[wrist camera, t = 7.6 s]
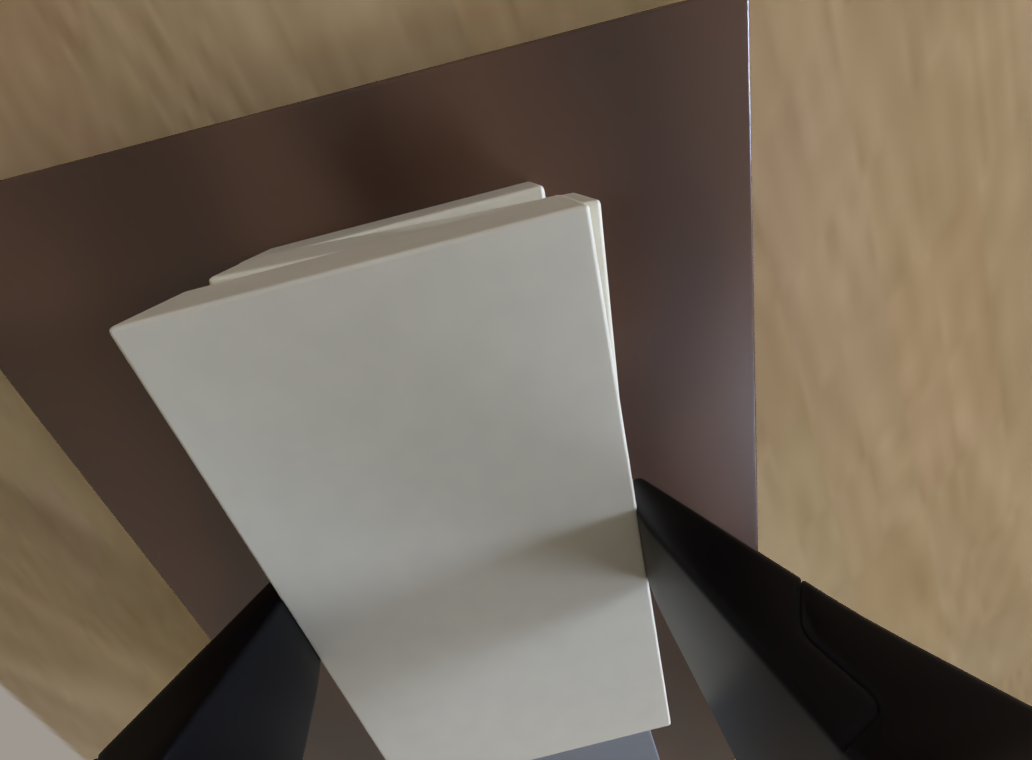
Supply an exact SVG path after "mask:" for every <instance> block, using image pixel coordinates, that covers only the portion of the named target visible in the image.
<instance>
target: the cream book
mask: <svg viewBox="0 0 1032 760" xmlns="http://www.w3.org/2000/svg"><path fill="white" fill-rule="evenodd" d="M109 332H110V335H111V336H112V338H113V339H114V341H115V342H116V344H117V346H118V347H119V349H120V350H121V352H122V353H123V355H124V356H125V358H126V360H127V361H128V363H129V364H130V366H131V367H132V369H133V370H134V372H135V373H136V375H137V377H138V378H139V380H140V381H141V383H142V384H143V386H144V387H145V389H146V390H147V392H148V394H149V395H150V397H151V398H152V400H153V401H154V403H155V404H156V406H157V407H158V409H159V411H160V412H161V414H162V415H163V417H164V418H165V420H166V421H167V423H168V424H169V426H170V428H171V429H172V431H173V432H174V434H175V435H176V437H177V438H178V440H179V442H180V443H181V445H182V446H183V448H184V449H185V451H186V452H187V454H188V455H189V457H190V459H191V460H192V462H193V463H194V465H195V466H196V468H197V469H198V471H199V472H200V474H201V476H202V477H203V479H204V480H205V482H206V483H207V485H208V486H209V488H210V489H211V491H212V493H213V494H214V496H215V497H216V499H217V500H218V502H219V503H220V505H221V507H222V508H223V510H224V511H225V513H226V514H227V516H228V517H229V519H230V520H231V522H232V524H233V525H234V527H235V528H236V530H237V531H238V533H239V534H240V536H241V537H242V539H243V541H244V542H245V544H246V545H247V547H248V548H249V550H250V551H251V553H252V554H253V556H254V558H255V559H256V561H257V562H258V564H259V565H260V567H261V568H262V570H263V571H264V573H265V575H266V576H267V578H268V579H269V581H270V582H271V584H272V585H273V587H274V589H275V590H276V592H277V593H278V595H279V596H280V598H281V599H282V601H283V602H284V603H285V605H286V606H287V608H288V609H289V611H290V612H291V614H292V616H293V617H294V619H295V620H296V622H297V623H298V625H299V626H300V628H301V629H302V631H303V633H304V634H305V636H306V637H307V639H308V640H309V642H310V643H311V645H312V647H313V648H314V650H315V651H316V653H317V654H318V656H319V657H320V659H321V661H322V663H323V664H324V666H325V667H326V669H327V671H328V672H329V674H330V675H331V677H332V678H333V680H334V681H335V683H336V684H337V686H338V688H339V689H340V691H341V692H342V694H343V695H344V697H345V698H346V700H347V701H348V703H349V705H350V706H351V708H352V709H353V711H354V712H355V714H356V715H357V717H358V718H359V720H360V722H361V723H362V725H363V726H364V728H365V729H366V731H367V732H368V734H369V735H370V737H371V739H372V740H373V742H374V743H375V745H376V746H377V748H378V749H379V751H380V753H381V754H382V756H383V757H384V759H385V760H533V759H537V758H541V757H545V756H549V755H553V754H557V753H561V752H565V751H569V750H573V749H577V748H581V747H585V746H589V745H593V744H597V743H601V742H605V741H609V740H613V739H617V738H621V737H625V736H629V735H633V734H637V733H641V732H644V731H648V730H652V729H656V728H660V727H664V726H668V725H670V724H671V721H670V715H669V708H668V702H667V696H666V689H665V683H664V677H663V670H662V664H661V658H660V651H659V645H658V639H657V632H656V626H655V620H654V613H653V607H652V601H651V594H650V588H649V582H648V579H647V576H646V570H645V564H644V558H643V551H642V545H641V539H640V532H639V526H638V520H637V513H636V511H637V506H636V499H635V493H634V487H633V480H632V474H631V468H630V461H629V455H628V449H627V443H626V436H625V430H624V424H623V417H622V411H621V405H620V398H619V392H618V386H617V379H616V373H615V367H614V360H613V354H612V348H611V341H610V335H609V329H608V322H607V316H606V310H605V303H604V297H603V291H602V284H601V278H600V272H599V265H598V259H597V253H596V246H595V240H594V234H593V227H592V221H591V215H590V208H589V207H588V205H587V204H584V203H581V202H578V201H576V200H573V199H570V198H568V197H565V196H562V195H555V196H551V197H547V198H543V199H540V200H536V201H532V202H528V203H524V204H520V205H516V206H513V207H509V208H505V209H501V210H497V211H493V212H490V213H486V214H482V215H478V216H474V217H470V218H466V219H463V220H459V221H455V222H451V223H447V224H443V225H440V226H436V227H432V228H428V229H424V230H420V231H417V232H413V233H409V234H405V235H401V236H397V237H393V238H390V239H386V240H382V241H378V242H374V243H370V244H367V245H363V246H359V247H355V248H351V249H347V250H343V251H340V252H336V253H332V254H328V255H324V256H320V257H317V258H313V259H309V260H305V261H301V262H297V263H293V264H290V265H286V266H282V267H278V268H274V269H270V270H267V271H263V272H259V273H255V274H251V275H247V276H243V277H240V278H236V279H232V280H228V281H224V282H220V283H217V284H213V285H209V286H205V287H201V288H197V289H193V290H190V291H186V292H183V293H181V294H179V295H177V296H175V297H173V298H171V299H169V300H167V301H165V302H162V303H160V304H158V305H156V306H154V307H152V308H150V309H148V310H146V311H144V312H142V313H139V314H137V315H135V316H133V317H131V318H129V319H127V320H125V321H123V322H121V323H118V324H116V325H114V326H113V327H111V328H110V330H109Z"/></svg>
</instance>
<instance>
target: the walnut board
mask: <svg viewBox="0 0 1032 760" xmlns="http://www.w3.org/2000/svg"><path fill="white" fill-rule="evenodd" d="M524 182H532V183H535V184H538V185H541V186H542V187H543V188H544V191H545V196H546V198H547V197H551V196H555V195H564V194H569V193H577V194H580V195H583V196H587V197H590V198H593V199H597V200H599V202H600V204H601V213H602V223H603V234H604V244H605V254H606V264H607V275H608V285H609V295H610V306H611V316H612V326H613V336H614V347H615V357H616V367H617V377H618V388H619V398H620V405H621V411H622V417H623V424H624V430H625V436H626V443H627V449H628V455H629V461H630V468H631V474H632V480H633V479H637V478H642V479H645V480H646V481H648V482H649V483H651V484H652V485H654V486H656V487H657V488H659V489H660V490H662V491H663V492H665V493H667V494H668V495H670V496H671V497H673V498H675V499H676V500H678V501H679V502H681V503H682V504H684V505H686V506H687V507H689V508H690V509H692V510H693V511H695V512H697V513H698V514H700V515H701V516H703V517H704V518H706V519H708V520H709V521H711V522H712V523H714V524H716V525H717V526H719V527H720V528H722V529H723V530H725V531H727V532H728V533H730V534H731V535H733V536H734V537H736V538H738V539H739V540H741V541H742V542H744V543H746V544H747V545H749V546H750V547H752V548H753V549H755V550H757V551H758V525H757V464H756V403H755V342H754V281H753V220H752V159H751V98H750V38H749V0H685V1H681V2H678V3H674V4H670V5H666V6H662V7H658V8H655V9H651V10H647V11H643V12H639V13H636V14H632V15H628V16H624V17H620V18H617V19H613V20H609V21H605V22H601V23H598V24H594V25H590V26H586V27H582V28H579V29H575V30H571V31H567V32H563V33H560V34H556V35H552V36H548V37H544V38H541V39H537V40H533V41H529V42H525V43H522V44H518V45H514V46H510V47H506V48H503V49H499V50H495V51H491V52H487V53H483V54H480V55H476V56H472V57H468V58H464V59H461V60H457V61H453V62H449V63H445V64H442V65H438V66H434V67H430V68H426V69H423V70H419V71H415V72H411V73H407V74H404V75H400V76H396V77H392V78H388V79H385V80H381V81H377V82H373V83H369V84H366V85H362V86H358V87H354V88H350V89H347V90H343V91H339V92H335V93H331V94H328V95H324V96H320V97H316V98H312V99H308V100H305V101H301V102H297V103H293V104H289V105H286V106H282V107H278V108H274V109H270V110H267V111H263V112H259V113H255V114H251V115H248V116H244V117H240V118H236V119H232V120H229V121H225V122H221V123H217V124H213V125H210V126H206V127H202V128H198V129H194V130H191V131H187V132H183V133H179V134H175V135H172V136H168V137H164V138H160V139H156V140H153V141H149V142H145V143H141V144H137V145H133V146H130V147H126V148H122V149H118V150H114V151H111V152H107V153H103V154H99V155H95V156H92V157H88V158H84V159H80V160H76V161H73V162H69V163H65V164H61V165H57V166H54V167H50V168H46V169H42V170H38V171H35V172H31V173H27V174H23V175H19V176H16V177H12V178H8V179H4V180H0V370H1V371H2V372H3V374H4V375H5V376H6V377H7V379H8V380H9V381H10V382H11V384H12V385H13V386H14V388H15V389H16V390H17V391H18V393H19V394H20V395H21V397H22V398H23V399H24V400H25V402H26V403H27V404H28V406H29V407H30V408H31V409H32V411H33V412H34V413H35V415H36V416H37V417H38V418H39V420H40V421H41V422H42V424H43V425H44V426H45V427H46V429H47V430H48V431H49V432H50V434H51V435H52V436H53V438H54V439H55V440H56V441H57V443H58V444H59V445H60V447H61V448H62V449H63V450H64V452H65V453H66V454H67V456H68V457H69V458H70V459H71V461H72V462H73V463H74V465H75V466H76V467H77V468H78V470H79V471H80V472H81V474H82V475H83V476H84V477H85V479H86V480H87V481H88V482H89V484H90V485H91V486H92V488H93V489H94V490H95V491H96V493H97V494H98V495H99V497H100V498H101V499H102V500H103V502H104V503H105V504H106V506H107V507H108V508H109V509H110V511H111V512H112V513H113V515H114V516H115V517H116V518H117V520H118V521H119V522H120V524H121V525H122V526H123V527H124V529H125V530H126V531H127V532H128V534H129V535H130V536H131V538H132V539H133V540H134V541H135V543H136V544H137V545H138V547H139V548H140V549H141V550H142V552H143V553H144V554H145V556H146V557H147V558H148V559H149V561H150V562H151V563H152V565H153V566H154V567H155V568H156V570H157V571H158V572H159V574H160V575H161V576H162V577H163V579H164V580H165V581H166V582H167V584H168V585H169V586H170V588H171V589H172V590H173V591H174V593H175V594H176V595H177V597H178V598H179V599H180V600H181V602H182V603H183V604H184V606H185V607H186V608H187V609H188V611H189V612H190V613H191V615H192V616H193V617H194V618H195V620H196V621H197V622H198V624H199V625H200V626H201V627H202V629H203V630H204V631H205V632H206V634H207V635H208V636H209V638H210V639H211V640H213V639H214V638H215V637H216V636H217V635H218V634H219V633H220V632H221V631H222V630H223V629H224V628H225V627H226V626H227V625H228V624H229V623H230V622H231V621H232V620H233V619H234V618H235V617H236V616H237V615H238V614H239V613H240V611H241V610H242V609H243V608H244V607H245V606H246V605H247V604H248V603H249V602H250V601H251V600H252V599H253V598H254V597H255V596H256V595H257V594H258V593H259V592H260V591H261V590H262V589H263V588H264V587H265V586H266V585H267V584H268V583H269V582H270V581H269V579H268V578H267V576H266V575H265V573H264V571H263V570H262V568H261V567H260V565H259V564H258V562H257V561H256V559H255V558H254V556H253V554H252V553H251V551H250V550H249V548H248V547H247V545H246V544H245V542H244V541H243V539H242V537H241V536H240V534H239V533H238V531H237V530H236V528H235V527H234V525H233V524H232V522H231V520H230V519H229V517H228V516H227V514H226V513H225V511H224V510H223V508H222V507H221V505H220V503H219V502H218V500H217V499H216V497H215V496H214V494H213V493H212V491H211V489H210V488H209V486H208V485H207V483H206V482H205V480H204V479H203V477H202V476H201V474H200V472H199V471H198V469H197V468H196V466H195V465H194V463H193V462H192V460H191V459H190V457H189V455H188V454H187V452H186V451H185V449H184V448H183V446H182V445H181V443H180V442H179V440H178V438H177V437H176V435H175V434H174V432H173V431H172V429H171V428H170V426H169V424H168V423H167V421H166V420H165V418H164V417H163V415H162V414H161V412H160V411H159V409H158V407H157V406H156V404H155V403H154V401H153V400H152V398H151V397H150V395H149V394H148V392H147V390H146V389H145V387H144V386H143V384H142V383H141V381H140V380H139V378H138V377H137V375H136V373H135V372H134V370H133V369H132V367H131V366H130V364H129V363H128V361H127V360H126V358H125V356H124V355H123V353H122V352H121V350H120V349H119V347H118V346H117V344H116V342H115V341H114V339H113V338H112V336H111V335H110V332H109V330H110V328H111V327H113V326H114V325H116V324H118V323H121V322H123V321H125V320H127V319H129V318H131V317H133V316H135V315H137V314H139V313H142V312H144V311H146V310H148V309H150V308H152V307H154V306H156V305H158V304H160V303H162V302H165V301H167V300H169V299H171V298H173V297H175V296H177V295H179V294H181V293H183V292H186V291H190V290H193V289H197V288H201V287H205V286H209V285H210V283H209V279H210V278H211V277H213V276H215V275H217V274H219V273H221V272H223V271H225V270H228V269H230V268H232V267H234V266H236V265H238V264H240V263H241V262H243V261H245V260H247V259H250V258H252V257H254V256H256V255H258V254H260V253H262V252H265V251H267V250H269V249H271V248H275V247H279V246H282V245H286V244H290V243H294V242H298V241H302V240H305V239H309V238H313V237H317V236H321V235H325V234H329V233H332V232H336V231H340V230H344V229H348V228H352V227H355V226H359V225H363V224H367V223H371V222H375V221H378V220H382V219H386V218H390V217H394V216H398V215H402V214H405V213H409V212H413V211H417V210H421V209H425V208H428V207H432V206H436V205H440V204H444V203H448V202H451V201H455V200H459V199H463V198H467V197H471V196H475V195H478V194H482V193H486V192H490V191H494V190H498V189H501V188H505V187H509V186H513V185H517V184H521V183H524ZM649 588H650V594H651V601H652V607H653V613H654V620H655V626H656V632H657V639H658V645H659V651H660V658H661V664H662V670H663V677H664V683H665V689H666V696H667V702H668V708H669V715H670V721H671V724H670V725H668V726H664V727H660V728H656V729H652V730H650V731H651V734H652V737H653V740H654V743H655V746H656V749H657V752H658V756H659V759H660V760H730V759H734V758H735V756H734V754H733V752H732V751H731V749H730V747H729V745H728V743H727V741H726V739H725V737H724V735H723V733H722V731H721V729H720V727H719V725H718V723H717V721H716V719H715V717H714V715H713V713H712V711H711V709H710V707H709V705H708V703H707V701H706V699H705V697H704V696H703V694H702V692H701V690H700V688H699V686H698V684H697V682H696V680H695V678H694V676H693V674H692V672H691V670H690V668H689V666H688V664H687V662H686V660H685V658H684V656H683V654H682V652H681V650H680V648H679V646H678V644H677V642H676V641H675V639H674V637H673V635H672V633H671V631H670V629H669V627H668V625H667V623H666V621H665V619H664V617H663V615H662V613H661V611H660V609H659V606H658V604H657V602H656V600H655V597H654V595H653V592H652V590H651V587H650V585H649ZM303 758H304V759H305V760H385V759H384V757H383V756H382V754H381V753H380V751H379V749H378V748H377V746H376V745H375V743H374V742H373V740H372V739H371V737H370V735H369V734H368V732H367V731H366V729H365V728H364V726H363V725H362V723H361V722H360V720H359V718H358V717H357V715H356V714H355V712H354V711H353V709H352V708H351V706H350V705H349V703H348V701H347V700H346V698H345V697H344V695H343V694H342V692H341V691H340V689H339V688H338V686H337V684H336V683H335V681H334V680H333V678H332V677H331V675H330V674H329V672H328V671H327V669H326V667H325V666H324V664H323V663H322V661H321V662H320V672H319V680H318V687H317V693H316V698H315V703H314V708H313V713H312V718H311V723H310V727H309V732H308V737H307V742H306V747H305V751H304V756H303Z"/></svg>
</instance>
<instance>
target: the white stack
mask: <svg viewBox="0 0 1032 760" xmlns="http://www.w3.org/2000/svg"><path fill="white" fill-rule="evenodd" d="M562 196H565V197H568V198H570V199H573V200H576V201H578V202H581V203H584V204H587V205H588V207H589V208H590V215H591V221H592V227H593V234H594V240H595V246H596V253H597V259H598V265H599V272H600V278H601V284H602V291H603V297H604V303H605V310H606V316H607V322H608V329H609V335H610V341H611V348H612V354H613V360H614V367H615V373H616V379H617V386H618V377H617V367H616V357H615V347H614V336H613V326H612V316H611V306H610V295H609V285H608V275H607V264H606V254H605V244H604V234H603V223H602V213H601V204H600V202H599V200H597V199H593V198H590V197H587V196H583V195H580V194H577V193H569V194H564V195H562ZM543 198H546V196H545V191H544V188H543V187H542V186H541V185H538V184H535V183H532V182H524V183H521V184H517V185H513V186H509V187H505V188H501V189H498V190H494V191H490V192H486V193H482V194H478V195H475V196H471V197H467V198H463V199H459V200H455V201H451V202H448V203H444V204H440V205H436V206H432V207H428V208H425V209H421V210H417V211H413V212H409V213H405V214H402V215H398V216H394V217H390V218H386V219H382V220H378V221H375V222H371V223H367V224H363V225H359V226H355V227H352V228H348V229H344V230H340V231H336V232H332V233H329V234H325V235H321V236H317V237H313V238H309V239H305V240H302V241H298V242H294V243H290V244H286V245H282V246H279V247H275V248H271V249H269V250H267V251H265V252H262V253H260V254H258V255H256V256H254V257H252V258H250V259H247V260H245V261H243V262H241V263H240V264H238V265H236V266H234V267H232V268H230V269H228V270H225V271H223V272H221V273H219V274H217V275H215V276H213V277H211V278H210V279H209V283H210V285H213V284H217V283H220V282H224V281H228V280H232V279H236V278H240V277H243V276H247V275H251V274H255V273H259V272H263V271H267V270H270V269H274V268H278V267H282V266H286V265H290V264H293V263H297V262H301V261H305V260H309V259H313V258H317V257H320V256H324V255H328V254H332V253H336V252H340V251H343V250H347V249H351V248H355V247H359V246H363V245H367V244H370V243H374V242H378V241H382V240H386V239H390V238H393V237H397V236H401V235H405V234H409V233H413V232H417V231H420V230H424V229H428V228H432V227H436V226H440V225H443V224H447V223H451V222H455V221H459V220H463V219H466V218H470V217H474V216H478V215H482V214H486V213H490V212H493V211H497V210H501V209H505V208H509V207H513V206H516V205H520V204H524V203H528V202H532V201H536V200H540V199H543ZM618 392H619V388H618Z"/></svg>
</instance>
